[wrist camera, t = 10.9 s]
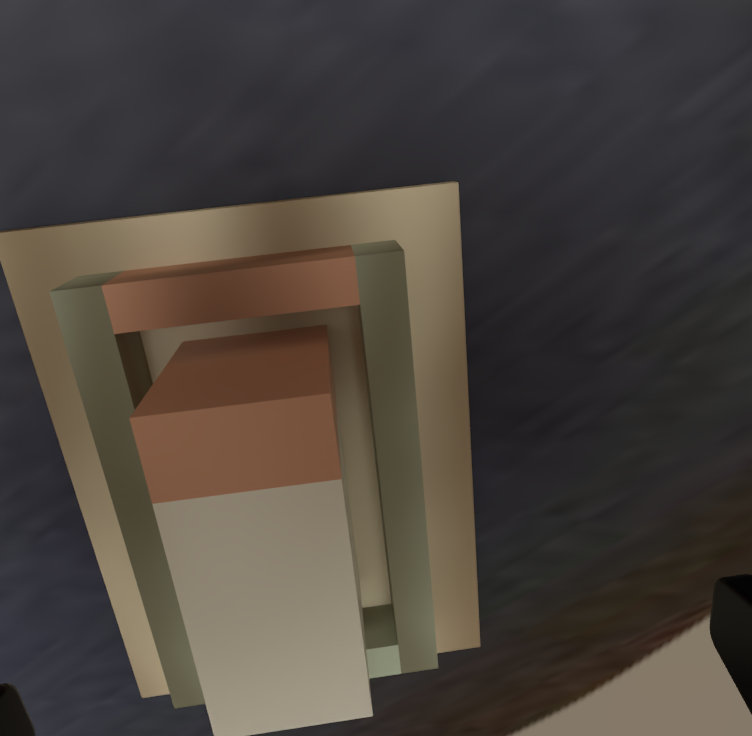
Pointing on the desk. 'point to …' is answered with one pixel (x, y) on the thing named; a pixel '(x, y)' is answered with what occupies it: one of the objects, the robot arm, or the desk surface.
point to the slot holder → (262, 314)
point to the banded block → (258, 528)
